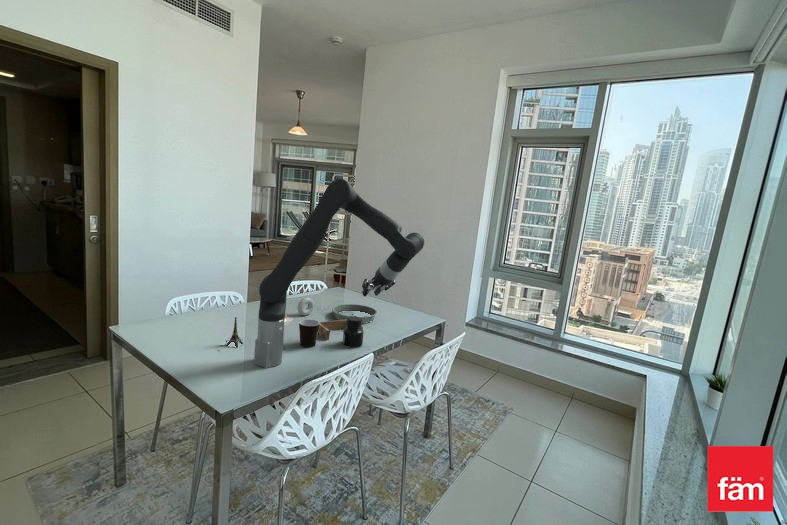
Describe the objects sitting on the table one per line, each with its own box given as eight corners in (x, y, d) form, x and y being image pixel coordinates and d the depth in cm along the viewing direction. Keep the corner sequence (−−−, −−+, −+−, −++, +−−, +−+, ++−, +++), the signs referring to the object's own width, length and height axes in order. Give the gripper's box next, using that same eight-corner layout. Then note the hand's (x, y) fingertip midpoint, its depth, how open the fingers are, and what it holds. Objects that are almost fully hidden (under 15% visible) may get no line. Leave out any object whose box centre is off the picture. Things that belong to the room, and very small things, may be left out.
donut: (299, 317, 195) (300, 299, 193) (295, 316, 197) (296, 297, 195) (314, 314, 202) (316, 297, 201) (310, 313, 204) (312, 295, 203)
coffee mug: (313, 350, 155) (314, 327, 154) (293, 346, 157) (295, 323, 156) (323, 341, 167) (325, 319, 165) (305, 337, 168) (307, 316, 167)
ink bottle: (350, 338, 173) (352, 313, 171) (366, 343, 169) (369, 318, 167) (337, 344, 164) (340, 318, 162) (354, 350, 160) (357, 323, 158)
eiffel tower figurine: (249, 338, 162) (250, 309, 160) (257, 347, 154) (259, 316, 152) (211, 344, 152) (212, 312, 150) (218, 353, 144) (219, 320, 142)
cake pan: (370, 311, 221) (370, 304, 220) (382, 325, 198) (382, 317, 197) (328, 311, 213) (329, 303, 212) (335, 325, 190) (336, 316, 189)
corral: (362, 335, 178) (363, 326, 178) (326, 340, 168) (327, 330, 167) (350, 327, 188) (350, 318, 187) (315, 331, 178) (316, 322, 177)
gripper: (401, 263, 147) (381, 285, 158) (369, 263, 139) (351, 287, 150) (407, 279, 143) (386, 301, 155) (376, 280, 135) (356, 303, 147)
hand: (369, 294), depth 153 cm, fingers open, 5 cm apart
